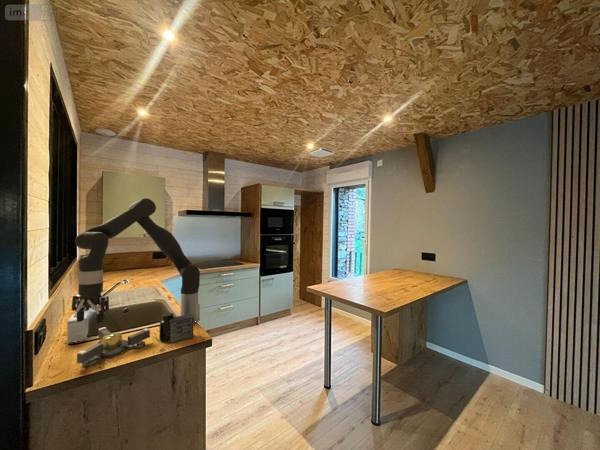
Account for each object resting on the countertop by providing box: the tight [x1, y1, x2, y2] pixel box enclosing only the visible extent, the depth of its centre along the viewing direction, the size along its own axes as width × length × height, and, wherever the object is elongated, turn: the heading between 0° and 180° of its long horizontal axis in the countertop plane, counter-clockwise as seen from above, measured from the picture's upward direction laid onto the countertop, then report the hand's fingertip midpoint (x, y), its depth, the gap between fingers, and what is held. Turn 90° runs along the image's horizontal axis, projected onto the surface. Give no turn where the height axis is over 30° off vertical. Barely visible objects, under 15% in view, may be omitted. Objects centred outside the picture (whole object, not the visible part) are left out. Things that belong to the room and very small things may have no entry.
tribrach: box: [81, 332, 146, 368], centre depth 108 cm, size 22×21×7 cm
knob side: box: [98, 326, 112, 342], centre depth 114 cm, size 9×2×5 cm, turn 54°
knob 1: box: [76, 342, 103, 364], centre depth 98 cm, size 9×2×5 cm, turn 174°
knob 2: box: [127, 327, 151, 345], centre depth 112 cm, size 9×2×5 cm, turn 158°
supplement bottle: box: [158, 312, 174, 343], centre depth 119 cm, size 7×7×12 cm
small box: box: [168, 314, 195, 344], centre depth 120 cm, size 11×6×10 cm, turn 123°
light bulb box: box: [66, 311, 89, 345], centre depth 119 cm, size 11×7×11 cm, turn 35°
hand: (90, 321), depth 98 cm, fingers open, 8 cm apart
